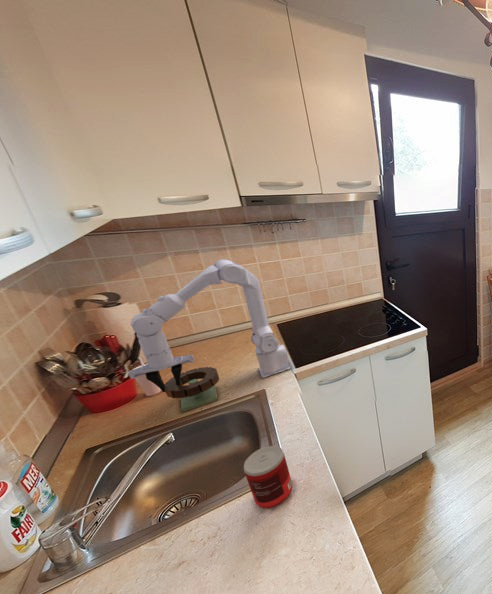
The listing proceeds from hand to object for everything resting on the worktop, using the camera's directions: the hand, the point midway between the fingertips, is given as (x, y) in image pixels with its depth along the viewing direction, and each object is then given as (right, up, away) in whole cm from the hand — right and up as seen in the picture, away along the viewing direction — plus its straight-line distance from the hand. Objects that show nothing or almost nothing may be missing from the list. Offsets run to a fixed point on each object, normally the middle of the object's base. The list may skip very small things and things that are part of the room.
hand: (172, 388), depth 104 cm
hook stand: (+4, -5, +6) cm, 9 cm away
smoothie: (-15, -4, +9) cm, 18 cm away
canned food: (+49, -18, -27) cm, 59 cm away
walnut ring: (+4, 0, +4) cm, 5 cm away
